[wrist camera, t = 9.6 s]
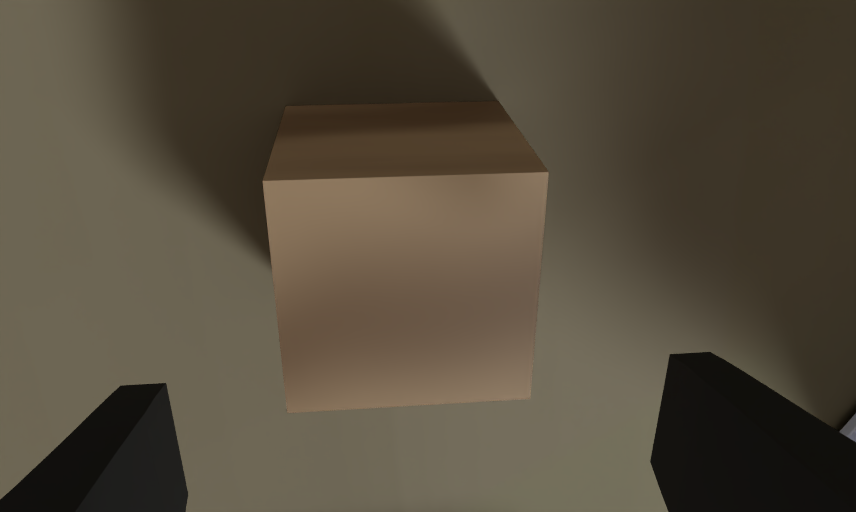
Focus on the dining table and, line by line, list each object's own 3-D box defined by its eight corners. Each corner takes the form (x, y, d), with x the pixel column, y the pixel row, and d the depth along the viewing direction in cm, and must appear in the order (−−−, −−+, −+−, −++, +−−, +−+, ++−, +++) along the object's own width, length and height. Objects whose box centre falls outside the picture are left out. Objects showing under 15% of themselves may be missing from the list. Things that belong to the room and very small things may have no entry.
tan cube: (286, 105, 17) (262, 181, 12) (497, 100, 17) (548, 171, 13) (301, 291, 19) (287, 412, 15) (489, 283, 19) (530, 398, 15)
